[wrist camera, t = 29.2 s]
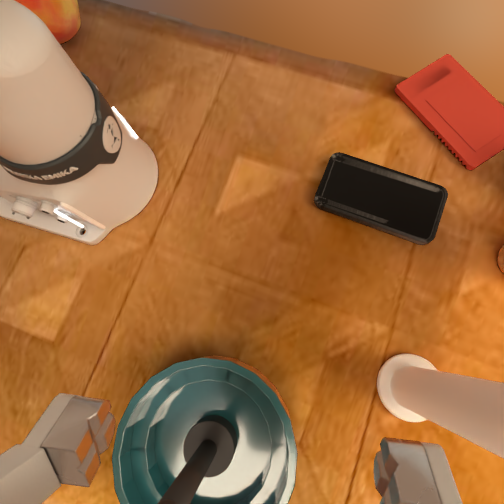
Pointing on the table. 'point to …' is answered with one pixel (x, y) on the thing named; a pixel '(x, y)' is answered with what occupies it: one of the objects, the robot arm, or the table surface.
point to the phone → (381, 198)
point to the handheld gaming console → (456, 110)
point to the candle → (444, 400)
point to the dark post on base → (202, 457)
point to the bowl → (187, 415)
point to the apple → (57, 16)
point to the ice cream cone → (501, 259)
